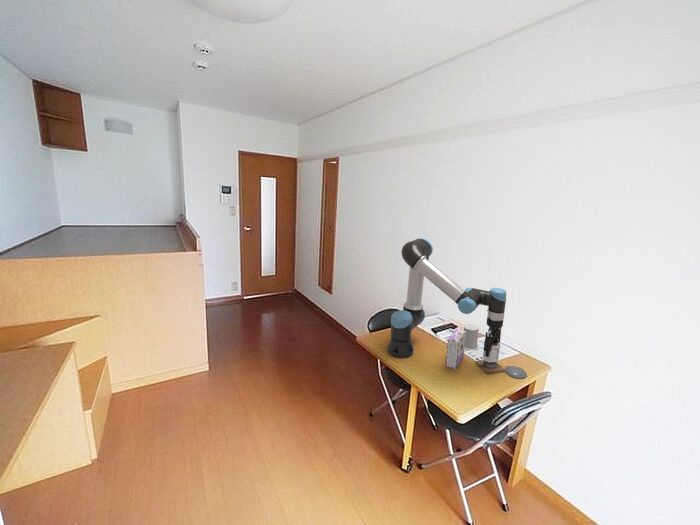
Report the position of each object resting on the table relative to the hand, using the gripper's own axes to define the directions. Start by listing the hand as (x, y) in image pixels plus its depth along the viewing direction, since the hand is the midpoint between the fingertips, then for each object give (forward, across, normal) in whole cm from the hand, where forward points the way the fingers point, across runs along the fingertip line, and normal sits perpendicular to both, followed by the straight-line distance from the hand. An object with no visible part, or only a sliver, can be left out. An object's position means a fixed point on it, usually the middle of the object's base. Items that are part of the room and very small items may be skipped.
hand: (490, 358), depth 161 cm
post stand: (+5, 0, 0) cm, 5 cm away
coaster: (+5, -5, +11) cm, 13 cm away
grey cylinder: (0, 0, 0) cm, 0 cm away
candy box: (+6, +8, -15) cm, 18 cm away
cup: (+6, -14, -18) cm, 24 cm away
